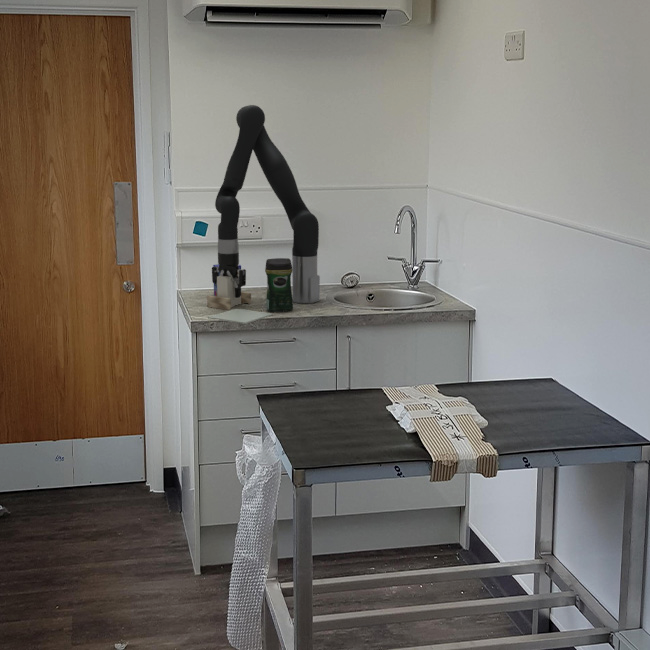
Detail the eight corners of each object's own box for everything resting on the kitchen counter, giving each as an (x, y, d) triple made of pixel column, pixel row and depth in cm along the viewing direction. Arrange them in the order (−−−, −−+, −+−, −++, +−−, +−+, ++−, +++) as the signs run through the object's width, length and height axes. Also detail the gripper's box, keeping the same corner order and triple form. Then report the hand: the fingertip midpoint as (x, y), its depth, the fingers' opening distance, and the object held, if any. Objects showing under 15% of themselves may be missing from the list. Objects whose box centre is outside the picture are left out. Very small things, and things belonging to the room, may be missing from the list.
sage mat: (273, 315, 328) (273, 313, 328) (245, 324, 315) (245, 322, 315) (236, 309, 336) (236, 308, 336) (207, 318, 323) (207, 316, 323)
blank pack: (241, 304, 346) (240, 274, 344) (227, 308, 340) (226, 277, 337) (231, 302, 349) (230, 273, 346) (217, 306, 342) (216, 276, 340)
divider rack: (251, 303, 347) (251, 293, 346) (229, 310, 336) (229, 299, 335) (229, 300, 352) (229, 290, 351) (207, 306, 341) (207, 296, 341)
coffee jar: (291, 307, 341) (291, 256, 337) (294, 312, 333) (293, 259, 329) (264, 308, 339) (264, 256, 335) (266, 312, 332) (266, 260, 328)
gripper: (250, 251, 339) (251, 296, 343) (219, 248, 347) (220, 292, 350) (237, 254, 333) (238, 300, 337) (205, 251, 340) (207, 296, 344)
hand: (229, 296), depth 343 cm, fingers open, 7 cm apart
